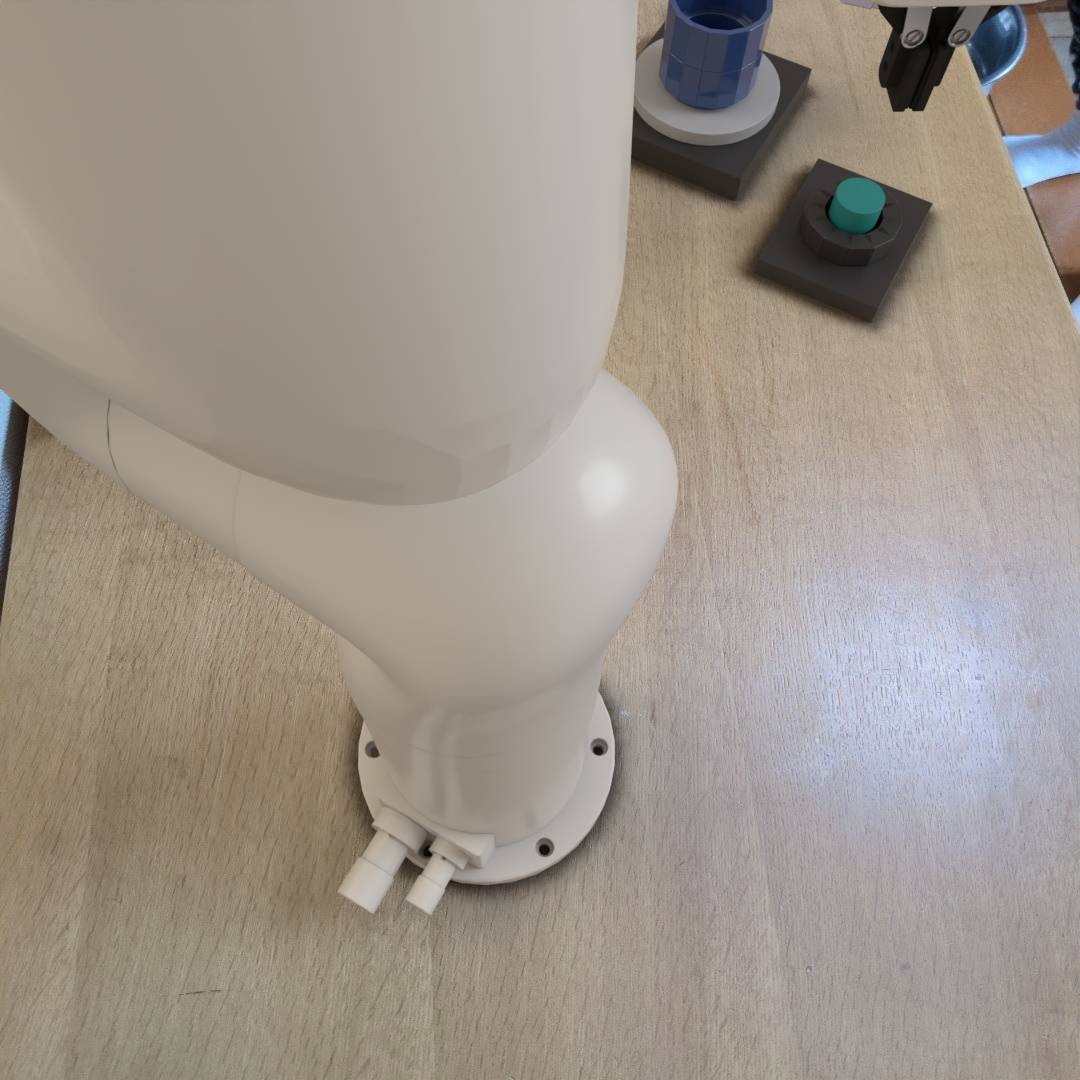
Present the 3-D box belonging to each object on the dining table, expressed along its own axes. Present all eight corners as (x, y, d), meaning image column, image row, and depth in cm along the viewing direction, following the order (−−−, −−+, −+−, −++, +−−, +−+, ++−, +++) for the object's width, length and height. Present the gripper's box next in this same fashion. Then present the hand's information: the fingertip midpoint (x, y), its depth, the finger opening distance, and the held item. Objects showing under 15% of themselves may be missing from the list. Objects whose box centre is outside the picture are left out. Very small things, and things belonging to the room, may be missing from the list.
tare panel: (871, 324, 64) (886, 292, 61) (753, 273, 66) (763, 240, 63) (925, 218, 68) (942, 184, 65) (813, 173, 70) (824, 138, 67)
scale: (735, 202, 68) (744, 167, 66) (588, 142, 71) (591, 106, 68) (805, 92, 73) (815, 56, 70) (665, 39, 75) (671, 2, 73)
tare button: (866, 241, 63) (875, 220, 62) (821, 222, 64) (828, 202, 63) (883, 209, 65) (892, 188, 63) (839, 191, 65) (846, 170, 64)
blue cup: (729, 127, 67) (747, 47, 62) (641, 92, 68) (652, 11, 63) (768, 69, 70) (789, -14, 64) (683, 36, 71) (696, -47, 66)
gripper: (883, -238, 38) (777, 148, 55) (1278, -245, 39) (1054, 139, 55) (847, -344, 41) (757, 50, 58) (1211, -350, 42) (1019, 43, 58)
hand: (902, 93), depth 56 cm, fingers closed
